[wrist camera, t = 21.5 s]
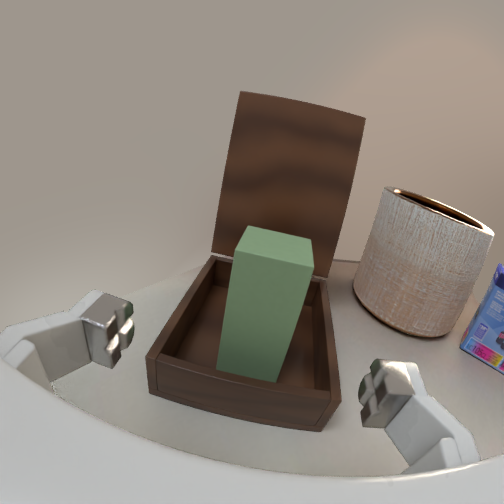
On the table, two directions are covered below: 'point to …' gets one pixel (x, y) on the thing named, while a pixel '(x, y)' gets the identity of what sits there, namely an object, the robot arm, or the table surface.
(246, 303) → the block
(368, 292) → the planter
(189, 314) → the chest
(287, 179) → the chest lid
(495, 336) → the ink cartridge box
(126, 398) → the table surface
